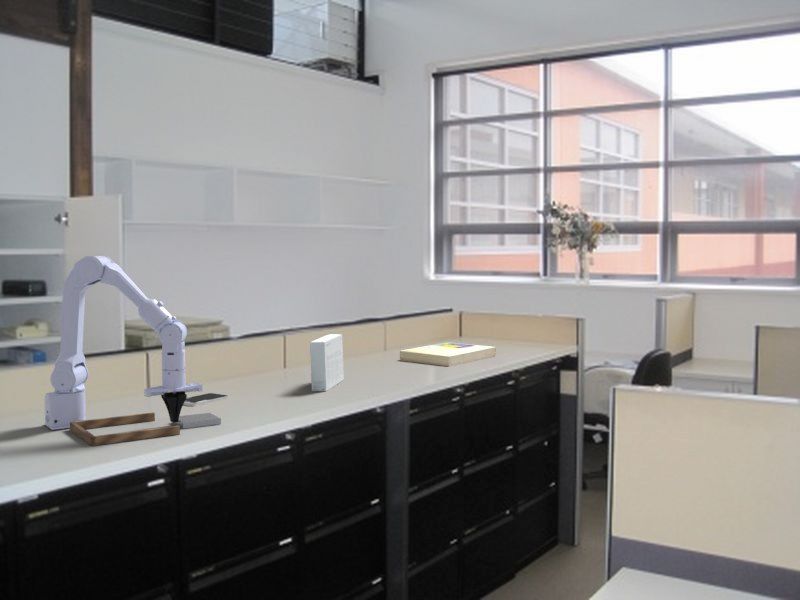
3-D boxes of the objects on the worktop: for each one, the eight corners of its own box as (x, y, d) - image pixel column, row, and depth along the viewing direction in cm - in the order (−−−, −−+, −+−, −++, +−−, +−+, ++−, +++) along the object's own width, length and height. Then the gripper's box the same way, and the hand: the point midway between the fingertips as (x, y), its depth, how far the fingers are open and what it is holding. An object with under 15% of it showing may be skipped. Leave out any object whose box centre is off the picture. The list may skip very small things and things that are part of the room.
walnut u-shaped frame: (91, 446, 189) (91, 437, 189) (70, 429, 205) (70, 422, 205) (179, 434, 202) (179, 426, 202) (153, 419, 217) (153, 412, 217)
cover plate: (183, 430, 208) (183, 422, 207) (172, 424, 214) (172, 416, 214) (220, 426, 213) (220, 418, 213) (209, 420, 220) (209, 412, 220)
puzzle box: (398, 361, 328) (448, 367, 313) (398, 350, 327) (449, 355, 313) (449, 352, 356) (497, 357, 342) (449, 342, 356) (497, 346, 342)
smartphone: (229, 395, 248) (193, 403, 235) (229, 399, 248) (193, 408, 235) (210, 393, 251) (173, 400, 239) (210, 397, 252) (173, 405, 239)
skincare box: (328, 380, 281) (328, 333, 280) (344, 380, 280) (344, 334, 279) (309, 391, 261) (309, 341, 259) (326, 391, 260) (326, 341, 258)
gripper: (150, 373, 202) (151, 428, 203) (206, 368, 210) (207, 421, 211) (141, 369, 208) (142, 422, 209) (196, 365, 216) (196, 416, 217)
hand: (174, 421), depth 210 cm, fingers closed
